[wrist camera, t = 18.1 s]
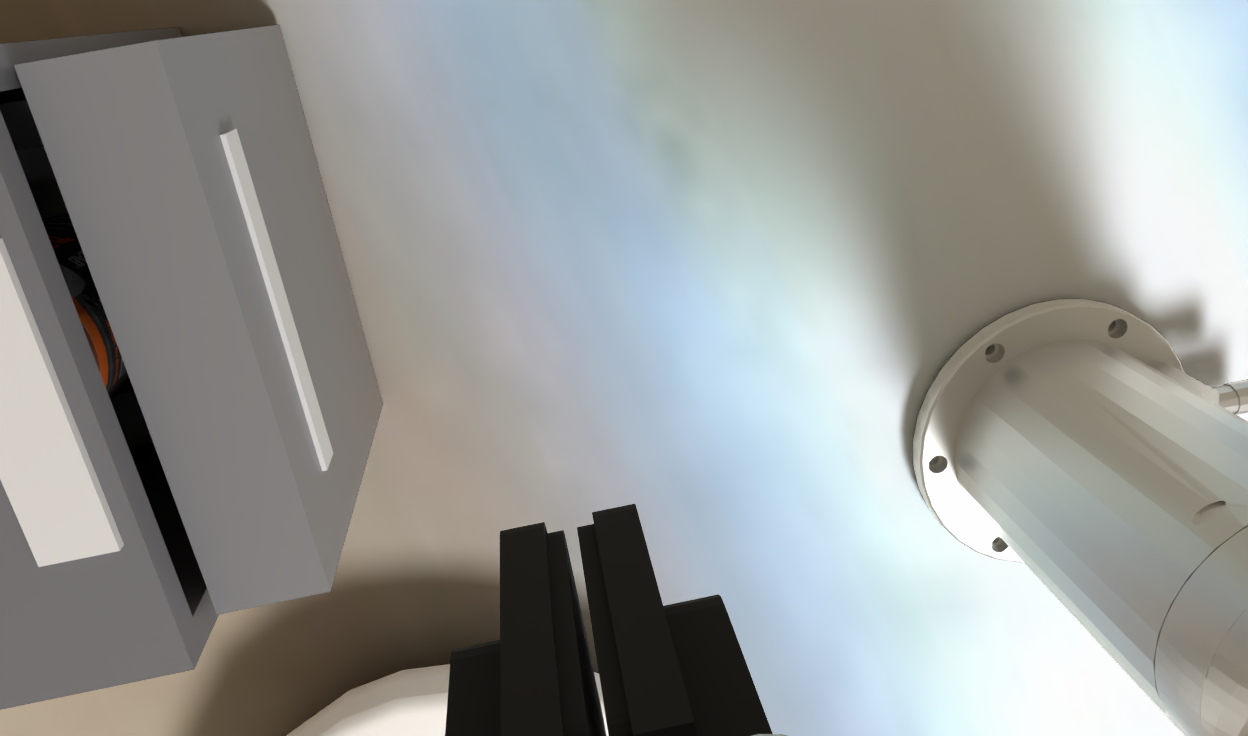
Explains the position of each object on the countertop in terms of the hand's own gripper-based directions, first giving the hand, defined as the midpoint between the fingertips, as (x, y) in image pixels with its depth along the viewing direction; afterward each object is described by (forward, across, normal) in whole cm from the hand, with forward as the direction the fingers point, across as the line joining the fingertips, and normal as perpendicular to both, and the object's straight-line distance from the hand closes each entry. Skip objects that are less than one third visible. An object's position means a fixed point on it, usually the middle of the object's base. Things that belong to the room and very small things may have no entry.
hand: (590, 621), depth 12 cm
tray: (+29, +18, 0) cm, 34 cm away
